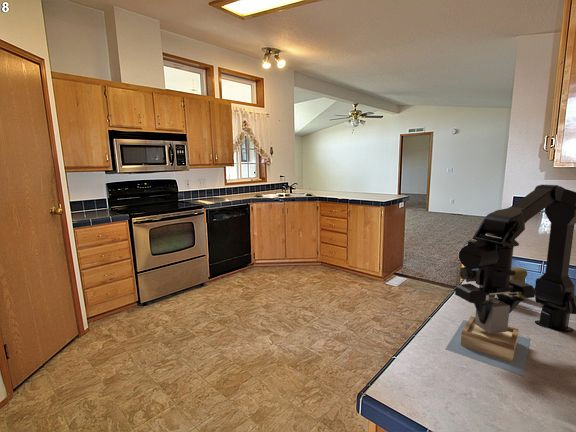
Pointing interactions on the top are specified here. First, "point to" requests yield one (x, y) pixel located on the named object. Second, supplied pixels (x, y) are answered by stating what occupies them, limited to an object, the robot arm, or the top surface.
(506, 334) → the wooden tray
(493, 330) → the block
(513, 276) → the cork
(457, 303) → the top surface
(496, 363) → the board
